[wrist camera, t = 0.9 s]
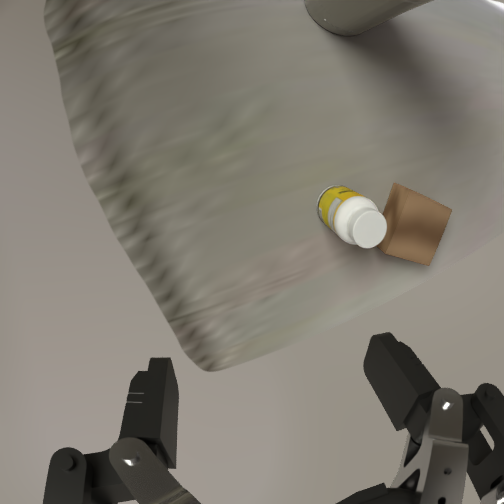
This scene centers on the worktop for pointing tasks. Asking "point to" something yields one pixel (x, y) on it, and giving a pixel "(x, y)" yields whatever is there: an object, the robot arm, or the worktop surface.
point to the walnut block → (413, 225)
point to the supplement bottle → (351, 216)
